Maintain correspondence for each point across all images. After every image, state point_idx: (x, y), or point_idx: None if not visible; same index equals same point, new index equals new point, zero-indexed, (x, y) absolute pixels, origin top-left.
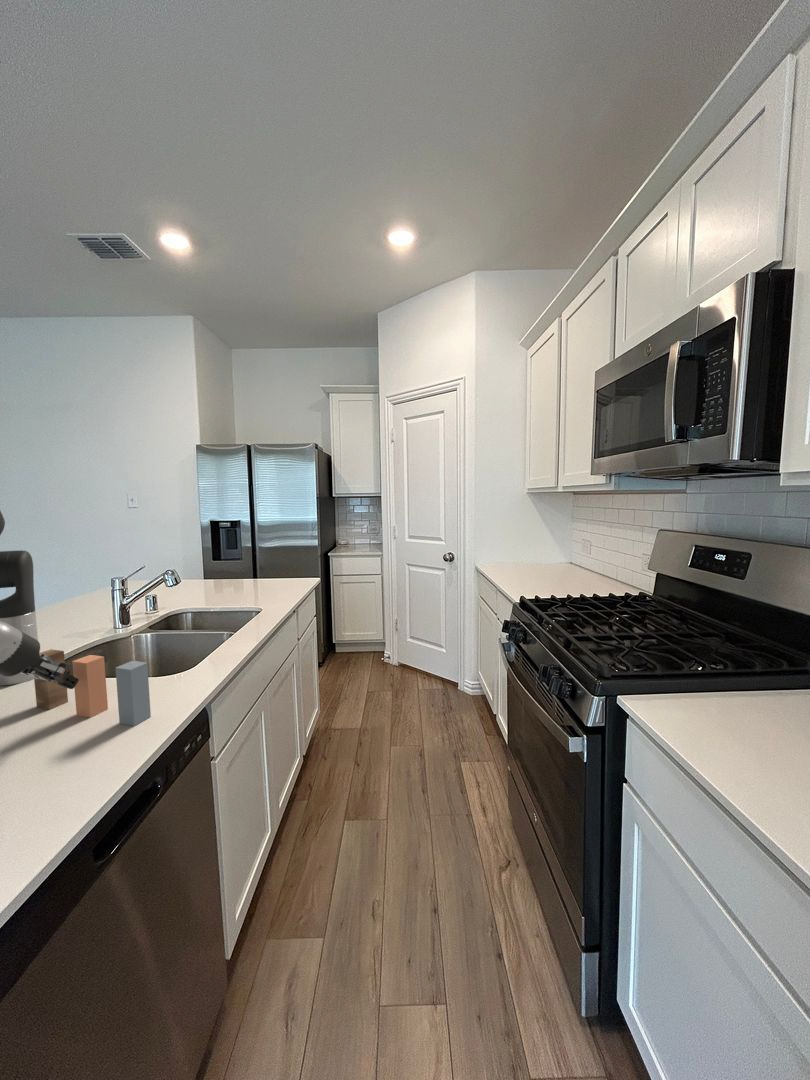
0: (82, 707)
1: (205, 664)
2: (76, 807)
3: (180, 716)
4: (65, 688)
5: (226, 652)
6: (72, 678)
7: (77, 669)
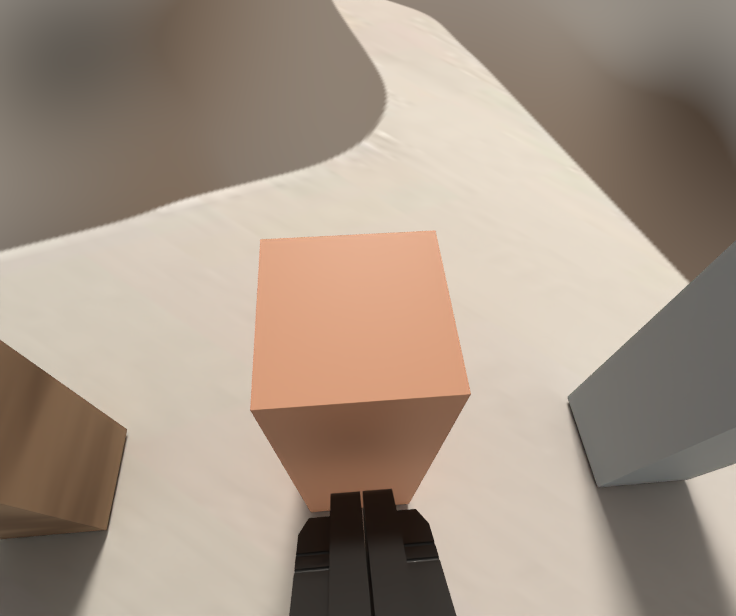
0: None
1: (378, 70)
2: None
3: None
4: (86, 410)
5: (360, 10)
6: (437, 564)
7: (332, 433)
